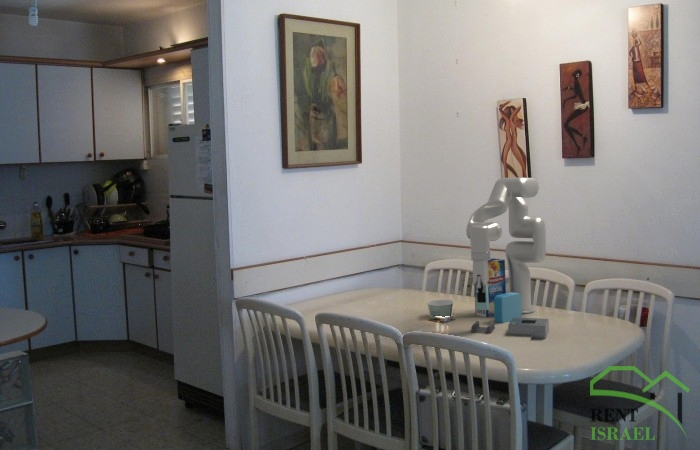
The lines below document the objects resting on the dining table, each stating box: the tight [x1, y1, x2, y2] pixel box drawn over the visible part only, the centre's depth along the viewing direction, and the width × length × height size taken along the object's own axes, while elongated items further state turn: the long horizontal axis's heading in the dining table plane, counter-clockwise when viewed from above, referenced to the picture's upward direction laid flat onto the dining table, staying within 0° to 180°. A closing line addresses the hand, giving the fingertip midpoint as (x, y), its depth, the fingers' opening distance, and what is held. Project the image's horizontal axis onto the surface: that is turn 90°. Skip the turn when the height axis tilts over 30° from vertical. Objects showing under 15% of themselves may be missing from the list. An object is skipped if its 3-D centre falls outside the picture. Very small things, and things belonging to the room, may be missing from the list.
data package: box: [494, 291, 523, 324], centre depth 308 cm, size 12×4×12 cm, turn 126°
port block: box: [507, 317, 550, 340], centre depth 287 cm, size 12×14×6 cm
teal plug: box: [476, 283, 489, 310], centre depth 293 cm, size 4×4×11 cm
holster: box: [470, 320, 496, 334], centre depth 293 cm, size 10×8×4 cm
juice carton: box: [473, 258, 507, 318], centre depth 325 cm, size 12×8×24 cm, turn 122°
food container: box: [426, 299, 455, 319], centre depth 326 cm, size 12×12×6 cm
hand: (482, 300), depth 293 cm, fingers closed on teal plug, 4 cm apart
